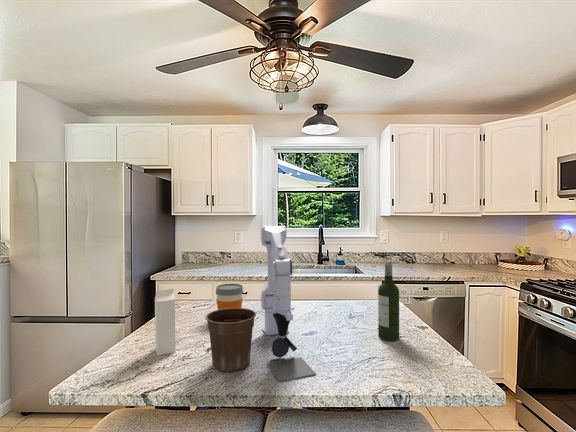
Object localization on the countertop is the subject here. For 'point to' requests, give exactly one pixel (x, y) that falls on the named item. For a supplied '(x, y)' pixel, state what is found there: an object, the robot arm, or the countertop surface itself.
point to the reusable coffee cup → (229, 296)
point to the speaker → (282, 347)
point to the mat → (290, 369)
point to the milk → (164, 322)
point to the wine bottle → (388, 307)
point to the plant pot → (230, 337)
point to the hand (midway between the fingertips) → (282, 335)
